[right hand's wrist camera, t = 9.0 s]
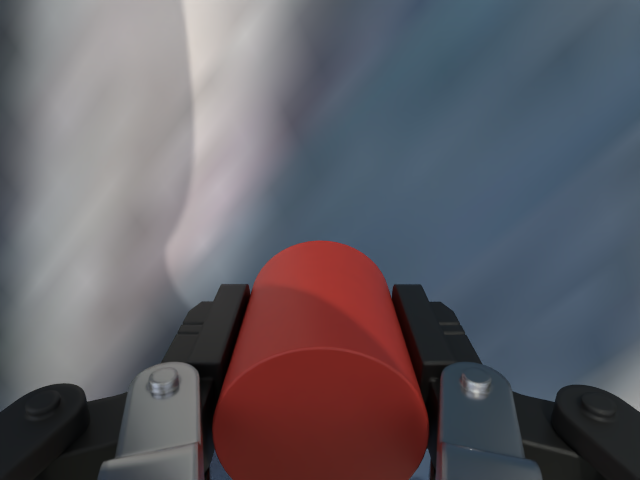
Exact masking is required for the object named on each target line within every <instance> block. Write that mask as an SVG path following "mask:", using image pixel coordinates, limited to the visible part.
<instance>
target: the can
mask: <svg viewBox="0 0 640 480" xmlns="http://www.w3.org/2000/svg"><path fill="white" fill-rule="evenodd" d="M212 437H213V443H214V447H215V451H216V454H217V456H218V458H219V461H220V463H221V464H222V466H223V468H224V469H225V471H226V472H227V473H228V475H229V476H230V477H231V478H232V479H233V480H409V479H410V477H411V476H412V475H413V474H414V472H415V471H416V470H417V468H418V467H419V465H420V463H421V461H422V459H423V457H424V454H425V451H426V448H427V445H428V439H429V420H428V414H427V410H426V407H425V404H424V401H423V397H422V394H421V391H420V388H419V385H418V381H417V378H416V375H415V372H414V369H413V365H412V362H411V359H410V356H409V353H408V349H407V346H406V343H405V340H404V337H403V334H402V330H401V327H400V324H399V321H398V318H397V314H396V311H395V308H394V305H393V302H392V298H391V295H390V292H389V289H388V286H387V283H386V280H385V278H384V276H383V274H382V273H381V271H380V270H379V268H378V267H377V266H376V265H375V264H374V262H373V261H372V260H371V259H369V258H368V257H367V256H366V255H364V254H363V253H361V252H360V251H358V250H356V249H354V248H352V247H350V246H347V245H344V244H341V243H337V242H331V241H310V242H304V243H300V244H297V245H294V246H291V247H289V248H287V249H285V250H283V251H281V252H280V253H278V254H277V255H275V256H274V257H273V258H272V259H270V260H269V261H268V262H267V263H266V264H265V266H264V267H263V268H262V269H261V271H260V273H259V274H258V276H257V278H256V280H255V282H254V285H253V288H252V292H251V295H250V298H249V301H248V305H247V308H246V311H245V314H244V318H243V321H242V324H241V327H240V331H239V334H238V337H237V340H236V343H235V347H234V350H233V353H232V356H231V360H230V363H229V366H228V369H227V373H226V376H225V379H224V382H223V386H222V389H221V392H220V395H219V399H218V402H217V405H216V409H215V412H214V416H213V423H212Z"/></svg>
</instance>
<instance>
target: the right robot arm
mask: <svg viewBox="0 0 640 480" xmlns="http://www.w3.org/2000/svg"><path fill="white" fill-rule="evenodd" d="M249 298H250V289H249V285H248V284H222V285H221V286H220V288H219V290H218V292H217V295H216V297H215V299H214V301H213V302H201V303H199V304H198V305H197V306H195V307H194V308H193V309H191V310H190V311H189V312H188V314H187V316H186V318H185V320H184V321H183V325H181V327H180V329H179V331H178V335H176V336H175V338H174V340H173V342H172V344H171V346H170V347H169V349H168V351H167V353H166V355H165V357H164V358H163V360H162V362H161V364H158V365H155V366H152V367H150V368H148V369H146V370H144V371H143V372H141V373H140V374H138V375H137V376H136V377H135V378H134V379H133V380H132V382H131V384H130V386H129V389H128V392H126V393H123V394H120V395H116V396H112V397H107V398H103V399H98V400H94V401H89V402H87V400H86V396H85V393H84V391H83V389H82V388H80V387H79V386H77V385H74V384H64V383H63V384H54V385H49V386H45V387H42V388H39V389H37V390H34V391H32V392H30V393H28V394H26V395H24V396H23V397H21V398H20V399H18V400H17V401H15V402H14V403H12V404H11V405H10V406H8V407H7V408H6V409H4V410H3V411H1V412H0V480H211V469H210V463H211V460H212V457H213V453H214V449H215V447H214V443H213V437H212V423H213V416H214V412H215V409H216V405H217V402H218V399H219V395H220V392H221V389H222V386H223V382H224V379H225V376H226V373H227V369H228V366H229V363H230V360H231V356H232V353H233V350H234V347H235V343H236V340H237V337H238V334H239V331H240V327H241V324H242V321H243V318H244V314H245V311H246V308H247V305H248V301H249ZM392 302H393V305H394V308H395V311H396V314H397V318H398V321H399V324H400V327H401V330H402V334H403V337H404V340H405V343H406V346H407V349H408V353H409V356H410V359H411V362H412V365H413V369H414V372H415V375H416V378H417V381H418V385H419V388H420V391H421V394H422V397H423V401H424V404H425V407H426V410H427V414H428V420H429V439H428V445H427V448H426V449H428V450H429V453H430V457H431V461H430V469H429V480H640V412H639V411H637V410H636V409H634V408H633V407H632V406H630V405H629V404H628V403H626V402H625V401H623V400H622V399H620V398H619V397H617V396H615V395H613V394H611V393H609V392H607V391H605V390H602V389H599V388H596V387H592V386H586V385H569V386H566V387H563V388H562V389H560V390H559V391H558V393H557V396H556V399H555V402H552V401H547V400H543V399H538V398H534V397H529V396H525V395H521V394H518V393H516V392H513V391H512V389H511V386H510V384H509V382H508V380H507V379H506V378H505V377H504V376H503V375H502V374H500V373H499V372H497V371H496V370H494V369H492V368H490V367H488V366H485V365H483V364H482V363H481V361H480V359H479V357H478V355H477V353H476V352H475V350H474V348H473V346H472V344H471V343H470V341H469V339H468V337H467V335H465V332H464V330H463V328H462V326H461V325H460V323H459V321H458V319H457V317H456V315H455V313H454V312H453V311H452V310H451V309H449V308H448V307H447V306H445V305H444V304H443V303H441V302H429V300H428V298H427V296H426V294H425V292H424V290H423V287H422V286H421V285H420V284H394V286H393V291H392Z"/></svg>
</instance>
